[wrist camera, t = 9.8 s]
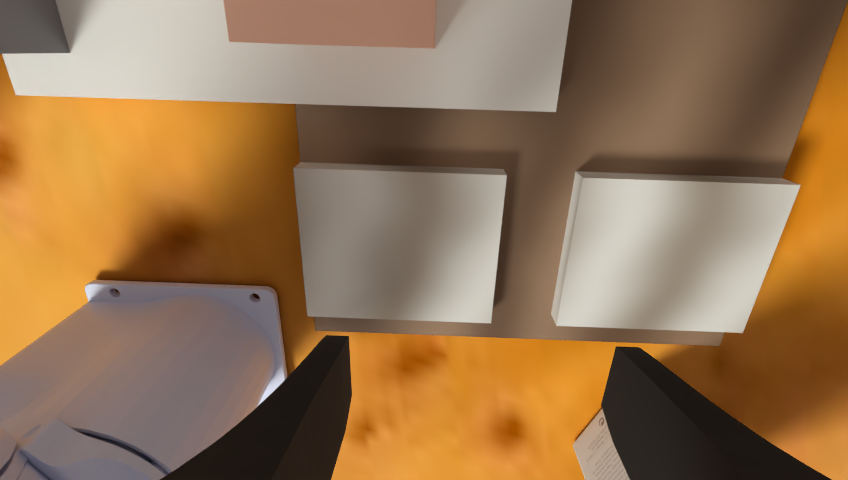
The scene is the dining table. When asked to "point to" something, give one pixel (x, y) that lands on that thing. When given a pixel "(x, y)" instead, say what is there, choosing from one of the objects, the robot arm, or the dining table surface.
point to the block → (333, 22)
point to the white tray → (283, 57)
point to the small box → (599, 452)
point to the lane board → (573, 185)
